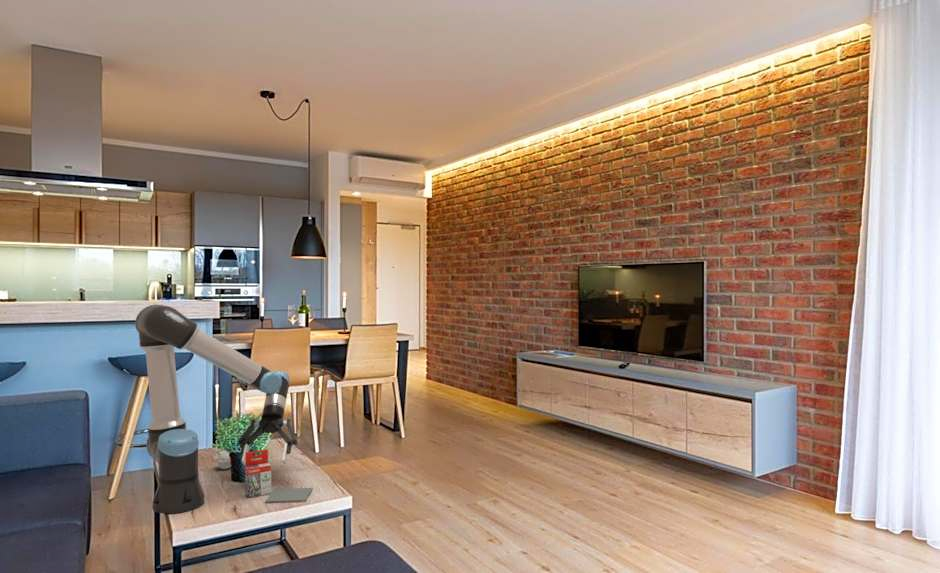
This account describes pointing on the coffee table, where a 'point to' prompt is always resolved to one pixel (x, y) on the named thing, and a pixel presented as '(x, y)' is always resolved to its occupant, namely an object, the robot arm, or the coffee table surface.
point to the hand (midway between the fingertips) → (263, 462)
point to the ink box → (257, 474)
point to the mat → (289, 495)
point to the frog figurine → (223, 459)
